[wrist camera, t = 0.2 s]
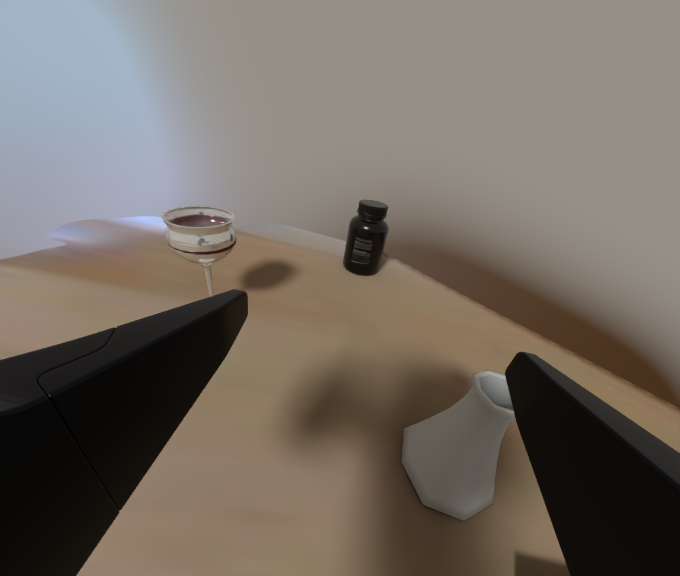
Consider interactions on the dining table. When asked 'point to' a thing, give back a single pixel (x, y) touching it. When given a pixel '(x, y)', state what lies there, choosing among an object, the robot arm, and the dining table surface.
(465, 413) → the flask
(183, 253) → the wineglass
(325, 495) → the dining table surface
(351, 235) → the supplement bottle
